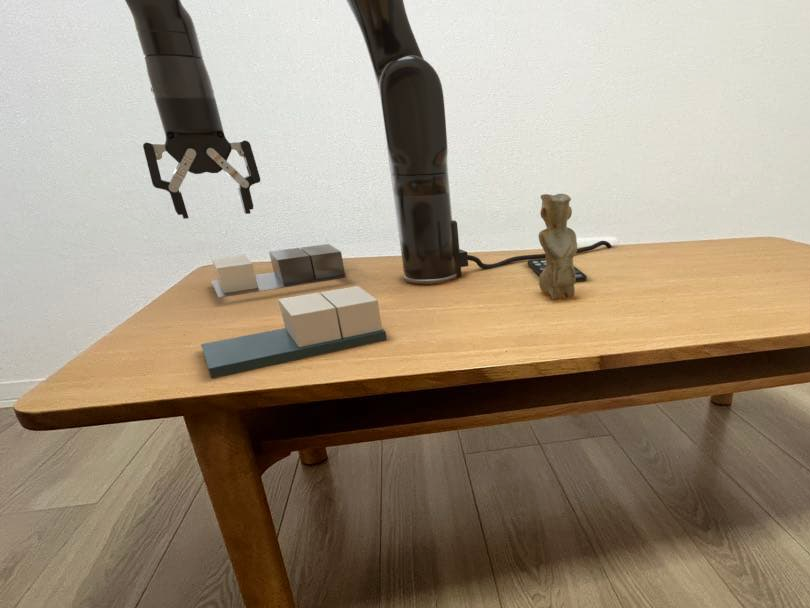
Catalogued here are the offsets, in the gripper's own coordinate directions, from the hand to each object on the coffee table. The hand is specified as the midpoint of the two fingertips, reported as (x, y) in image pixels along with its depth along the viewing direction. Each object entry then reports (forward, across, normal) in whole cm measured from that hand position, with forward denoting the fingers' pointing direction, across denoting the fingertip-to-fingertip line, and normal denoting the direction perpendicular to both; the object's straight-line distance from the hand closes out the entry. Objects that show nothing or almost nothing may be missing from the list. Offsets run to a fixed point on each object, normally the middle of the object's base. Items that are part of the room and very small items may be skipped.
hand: (217, 215), depth 84 cm
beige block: (+11, 0, 0) cm, 11 cm away
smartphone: (+12, +50, -21) cm, 55 cm away
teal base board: (+12, +3, -32) cm, 34 cm away
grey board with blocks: (+12, +7, 0) cm, 14 cm away
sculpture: (+12, +42, -33) cm, 55 cm away
